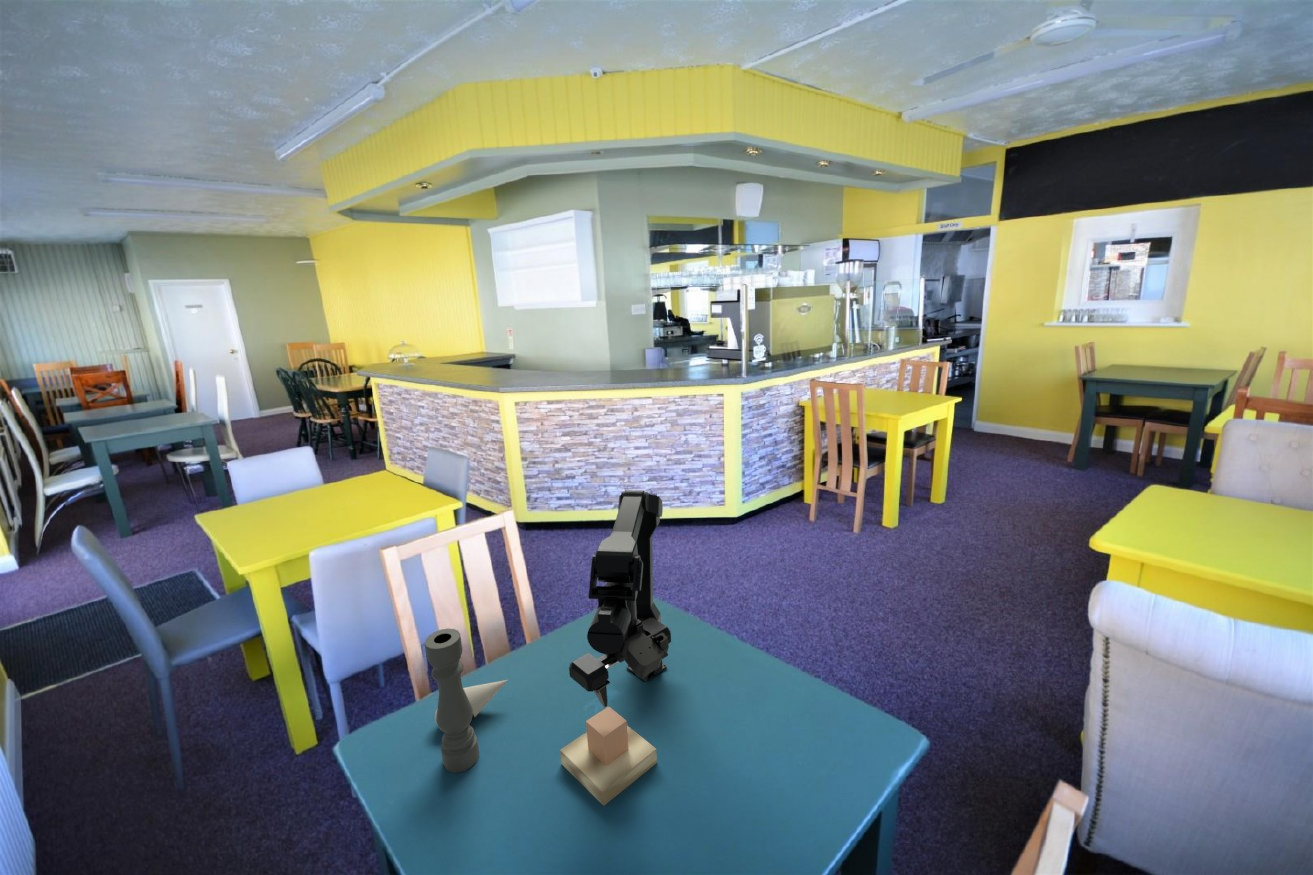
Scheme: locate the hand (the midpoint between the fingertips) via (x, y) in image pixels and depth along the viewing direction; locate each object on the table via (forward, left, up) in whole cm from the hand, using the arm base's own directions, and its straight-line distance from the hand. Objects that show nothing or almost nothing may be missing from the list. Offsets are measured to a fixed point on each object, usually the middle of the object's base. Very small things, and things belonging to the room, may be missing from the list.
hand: (624, 692), depth 102 cm
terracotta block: (+1, -5, -9) cm, 10 cm away
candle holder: (-19, -23, -12) cm, 32 cm away
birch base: (+1, -5, -12) cm, 13 cm away
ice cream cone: (-28, -16, -12) cm, 35 cm away
